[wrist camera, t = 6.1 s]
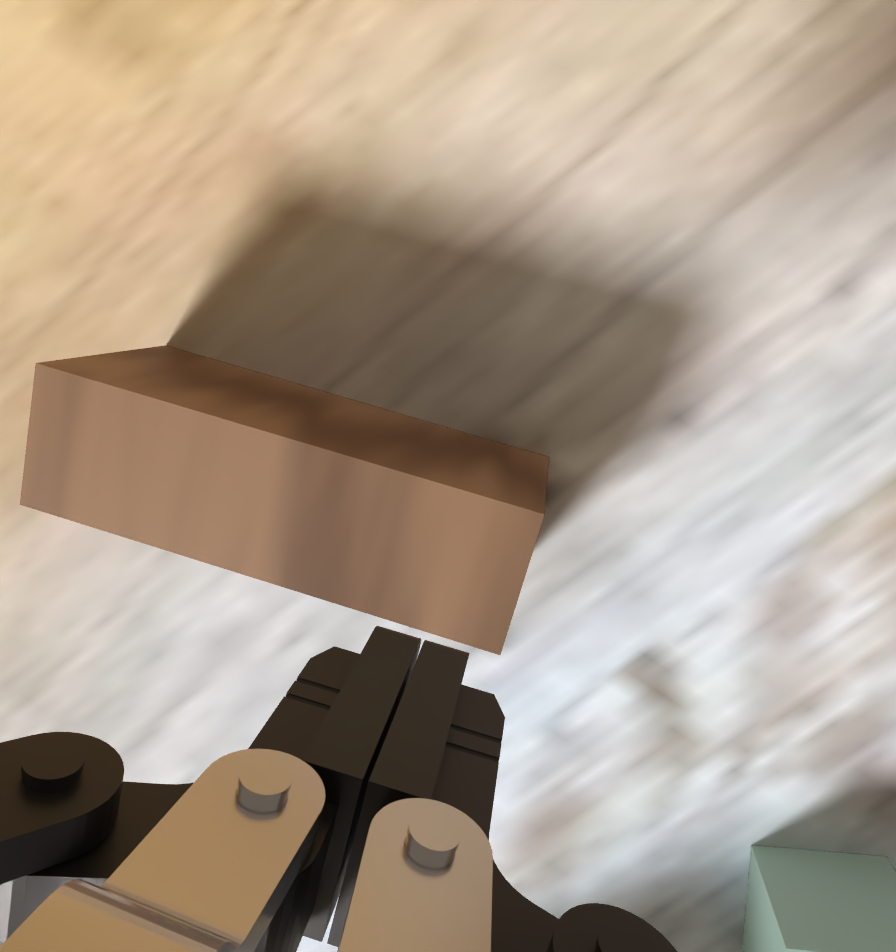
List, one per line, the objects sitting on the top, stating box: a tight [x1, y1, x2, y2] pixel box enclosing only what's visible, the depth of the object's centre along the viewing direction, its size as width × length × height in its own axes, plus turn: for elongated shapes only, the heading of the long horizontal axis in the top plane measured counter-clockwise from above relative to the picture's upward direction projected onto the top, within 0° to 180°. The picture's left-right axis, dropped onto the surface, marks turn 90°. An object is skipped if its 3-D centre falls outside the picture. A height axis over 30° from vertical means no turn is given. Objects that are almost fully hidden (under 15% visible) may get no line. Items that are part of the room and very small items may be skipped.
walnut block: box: [20, 346, 549, 655], centre depth 20 cm, size 6×4×12 cm
